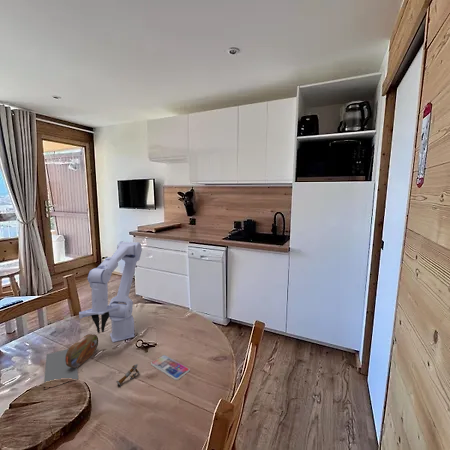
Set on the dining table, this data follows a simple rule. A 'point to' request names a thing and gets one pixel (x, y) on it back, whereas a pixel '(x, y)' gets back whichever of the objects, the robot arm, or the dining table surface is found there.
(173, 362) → the smartphone
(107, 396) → the dining table surface
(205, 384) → the dining table surface
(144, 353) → the dining table surface
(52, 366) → the mat
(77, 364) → the tin
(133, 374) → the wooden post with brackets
